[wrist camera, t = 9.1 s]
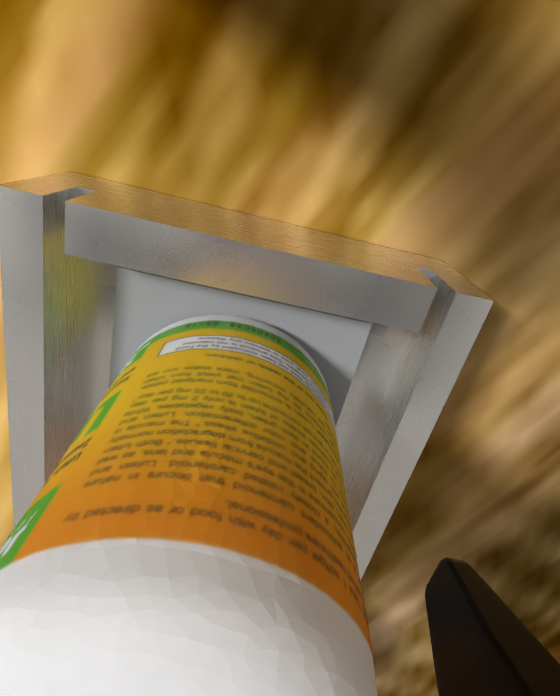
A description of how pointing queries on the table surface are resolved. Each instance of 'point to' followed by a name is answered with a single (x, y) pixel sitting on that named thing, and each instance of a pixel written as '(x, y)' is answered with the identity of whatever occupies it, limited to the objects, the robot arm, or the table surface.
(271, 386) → the supplement bottle
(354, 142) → the table surface
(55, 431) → the grey tray
